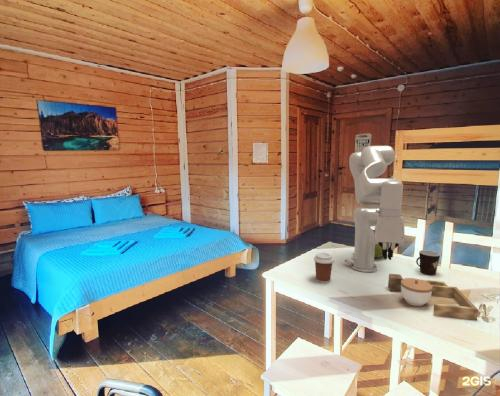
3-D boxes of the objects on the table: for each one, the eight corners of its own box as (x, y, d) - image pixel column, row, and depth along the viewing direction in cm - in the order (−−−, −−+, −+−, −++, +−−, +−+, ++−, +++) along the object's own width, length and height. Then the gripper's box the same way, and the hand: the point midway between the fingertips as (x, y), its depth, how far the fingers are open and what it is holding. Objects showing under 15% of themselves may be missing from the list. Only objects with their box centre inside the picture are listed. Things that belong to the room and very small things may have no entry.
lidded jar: (393, 296, 119) (395, 274, 117) (418, 294, 120) (420, 273, 118) (410, 310, 108) (412, 286, 107) (437, 308, 109) (439, 285, 108)
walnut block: (390, 291, 123) (391, 277, 122) (388, 286, 127) (389, 273, 126) (402, 292, 122) (403, 278, 121) (399, 287, 126) (400, 274, 125)
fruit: (381, 251, 171) (392, 233, 162) (379, 268, 160) (391, 249, 151) (354, 241, 175) (363, 222, 166) (350, 256, 164) (360, 237, 155)
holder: (434, 315, 105) (435, 305, 104) (413, 284, 129) (414, 275, 128) (476, 320, 101) (478, 309, 101) (446, 287, 126) (447, 278, 125)
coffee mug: (432, 269, 145) (434, 250, 143) (442, 276, 137) (444, 256, 135) (408, 268, 146) (409, 249, 145) (416, 275, 138) (417, 255, 136)
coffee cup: (309, 278, 137) (309, 253, 135) (323, 274, 141) (324, 250, 139) (322, 285, 129) (323, 260, 127) (337, 281, 133) (338, 256, 131)
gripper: (370, 214, 109) (367, 260, 112) (415, 215, 106) (411, 263, 108) (367, 210, 116) (365, 254, 119) (409, 211, 113) (406, 256, 116)
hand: (387, 258), depth 114 cm, fingers closed
